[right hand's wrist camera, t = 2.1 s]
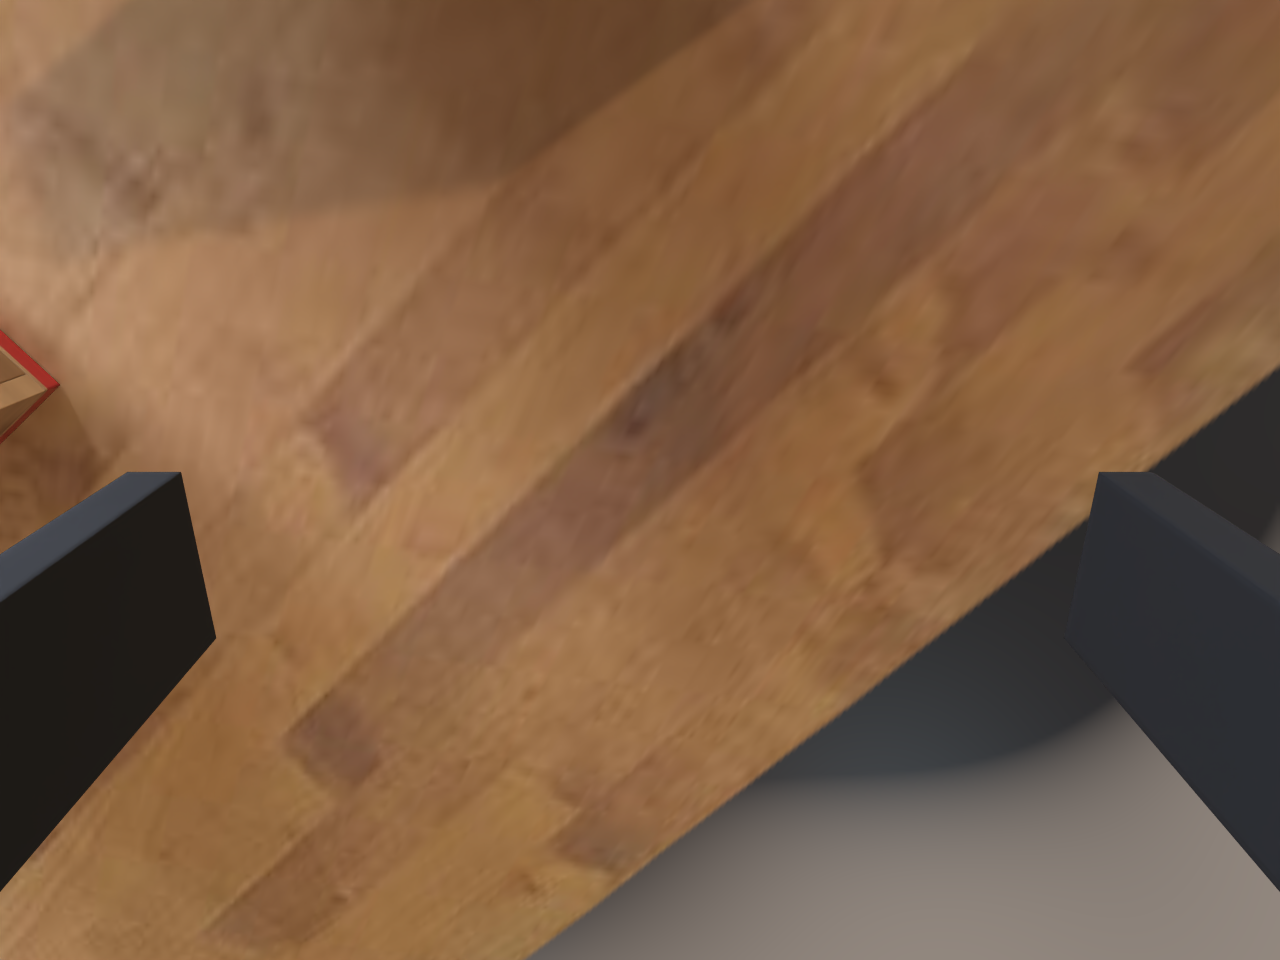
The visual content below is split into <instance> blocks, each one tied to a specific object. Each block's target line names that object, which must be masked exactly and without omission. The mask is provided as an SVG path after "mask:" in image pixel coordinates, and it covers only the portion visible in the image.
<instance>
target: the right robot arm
mask: <svg viewBox="0 0 1280 960" xmlns="http://www.w3.org/2000/svg"><path fill="white" fill-rule="evenodd" d="M215 639H216V635H215V630H214V625H213V621H212V616H211V611H210V607H209V602H208V597H207V592H206V588H205V583H204V578H203V574H202V569H201V564H200V559H199V555H198V550H197V545H196V541H195V536H194V531H193V526H192V522H191V517H190V512H189V508H188V503H187V498H186V493H185V489H184V484H183V479H182V475H181V472H127V473H125V474H124V475H122V476H121V477H119V478H117V479H116V480H114V481H113V482H111V483H110V484H108V485H107V486H105V487H104V488H102V489H100V490H99V491H97V492H96V493H94V494H93V495H91V496H90V497H88V498H87V499H85V500H83V501H82V502H80V503H79V504H77V505H76V506H74V507H73V508H71V509H70V510H68V511H66V512H65V513H63V514H62V515H60V516H59V517H57V518H56V519H54V520H52V521H51V522H49V523H48V524H46V525H45V526H43V527H42V528H40V529H39V530H37V531H35V532H34V533H32V534H31V535H29V536H28V537H26V538H25V539H23V540H22V541H20V542H18V543H17V544H15V545H14V546H12V547H11V548H9V549H8V550H6V551H4V552H3V553H1V554H0V891H1V890H2V889H3V888H4V887H5V885H6V884H7V883H8V882H9V881H10V880H11V878H12V877H13V876H14V875H15V874H16V873H17V871H18V870H19V869H20V868H21V867H22V866H23V864H24V863H25V862H26V861H27V860H28V858H29V857H30V856H31V855H32V854H33V853H34V851H35V850H36V849H37V848H38V847H39V846H40V844H41V843H42V842H43V841H44V840H45V839H46V837H47V836H48V835H49V834H50V833H51V831H52V830H53V829H54V828H55V827H56V826H57V824H58V823H59V822H60V821H61V820H62V819H63V817H64V816H65V815H66V814H67V813H68V812H69V810H70V809H71V808H72V807H73V806H74V804H75V803H76V802H77V801H78V800H79V799H80V797H81V796H82V795H83V794H84V793H85V792H86V790H87V789H88V788H89V787H90V786H91V785H92V783H93V782H94V781H95V780H96V779H97V778H98V776H99V775H100V774H101V773H102V772H103V770H104V769H105V768H106V767H107V766H108V765H109V763H110V762H111V761H112V760H113V759H114V758H115V756H116V755H117V754H118V753H119V752H120V751H121V749H122V748H123V747H124V746H125V745H126V743H127V742H128V741H129V740H130V739H131V738H132V736H133V735H134V734H135V733H136V732H137V731H138V729H139V728H140V727H141V726H142V725H143V724H144V722H145V721H146V720H147V719H148V718H149V716H150V715H151V714H152V713H153V712H154V711H155V709H156V708H157V707H158V706H159V705H160V704H161V702H162V701H163V700H164V699H165V698H166V697H167V695H168V694H169V693H170V692H171V691H172V689H173V688H174V687H175V686H176V685H177V684H178V682H179V681H180V680H181V679H182V678H183V677H184V675H185V674H186V673H187V672H188V671H189V670H190V668H191V667H192V666H193V665H194V664H195V663H196V661H197V660H198V659H199V658H200V657H201V655H202V654H203V653H204V652H205V651H206V650H207V648H208V647H209V646H210V645H211V644H212V643H213V641H214V640H215ZM1064 639H1065V640H1066V641H1067V643H1068V644H1069V645H1070V646H1071V647H1072V648H1073V650H1074V651H1075V652H1076V653H1077V654H1078V655H1079V657H1080V658H1081V659H1082V660H1083V661H1084V662H1085V664H1086V665H1087V666H1088V667H1089V668H1090V670H1091V671H1092V672H1093V673H1094V674H1095V675H1096V677H1097V678H1098V679H1099V680H1100V681H1101V682H1102V684H1103V685H1104V686H1105V687H1106V688H1107V689H1108V691H1109V692H1110V693H1111V694H1112V695H1113V697H1114V698H1115V699H1116V700H1117V701H1118V702H1119V704H1120V705H1121V706H1122V707H1123V708H1124V709H1125V711H1126V712H1127V713H1128V714H1129V715H1130V716H1131V718H1132V719H1133V720H1134V721H1135V722H1136V724H1137V725H1138V726H1139V727H1140V728H1141V729H1142V731H1143V732H1144V733H1145V734H1146V735H1147V736H1148V738H1149V739H1150V740H1151V741H1152V742H1153V743H1154V745H1155V746H1156V747H1157V748H1158V749H1159V750H1160V752H1161V753H1162V754H1163V755H1164V756H1165V758H1166V759H1167V760H1168V761H1169V762H1170V763H1171V765H1172V766H1173V767H1174V768H1175V769H1176V770H1177V772H1178V773H1179V774H1180V775H1181V776H1182V777H1183V779H1184V780H1185V781H1186V782H1187V783H1188V785H1189V786H1190V787H1191V788H1192V789H1193V790H1194V792H1195V793H1196V794H1197V795H1198V796H1199V797H1200V799H1201V800H1202V801H1203V802H1204V803H1205V804H1206V806H1207V807H1208V808H1209V809H1210V810H1211V812H1212V813H1213V814H1214V815H1215V816H1216V817H1217V819H1218V820H1219V821H1220V822H1221V823H1222V824H1223V826H1224V827H1225V828H1226V829H1227V830H1228V831H1229V833H1230V834H1231V835H1232V836H1233V837H1234V839H1235V840H1236V841H1237V842H1238V843H1239V844H1240V846H1241V847H1242V848H1243V849H1244V850H1245V851H1246V853H1247V854H1248V855H1249V856H1250V857H1251V858H1252V860H1253V861H1254V862H1255V863H1256V864H1257V866H1258V867H1259V868H1260V869H1261V870H1262V871H1263V873H1264V874H1265V875H1266V876H1267V877H1268V878H1269V879H1270V881H1271V882H1272V883H1273V884H1274V885H1275V887H1276V888H1277V889H1278V890H1279V891H1280V554H1279V553H1277V552H1275V551H1274V550H1272V549H1271V548H1269V547H1268V546H1266V545H1265V544H1263V543H1262V542H1260V541H1258V540H1257V539H1255V538H1254V537H1252V536H1251V535H1249V534H1248V533H1246V532H1245V531H1243V530H1241V529H1240V528H1238V527H1237V526H1235V525H1234V524H1232V523H1231V522H1229V521H1227V520H1226V519H1224V518H1223V517H1221V516H1220V515H1218V514H1217V513H1215V512H1214V511H1212V510H1210V509H1209V508H1207V507H1206V506H1204V505H1203V504H1201V503H1200V502H1198V501H1197V500H1195V499H1193V498H1192V497H1190V496H1189V495H1187V494H1186V493H1184V492H1183V491H1181V490H1180V489H1178V488H1176V487H1175V486H1173V485H1172V484H1170V483H1169V482H1167V481H1166V480H1164V479H1162V478H1161V477H1159V476H1158V475H1156V474H1155V473H1153V472H1099V475H1098V479H1097V484H1096V489H1095V493H1094V498H1093V503H1092V508H1091V512H1090V517H1089V522H1088V527H1087V532H1086V536H1085V541H1084V545H1083V550H1082V555H1081V559H1080V564H1079V569H1078V574H1077V578H1076V583H1075V588H1074V593H1073V597H1072V602H1071V607H1070V612H1069V616H1068V621H1067V626H1066V630H1065V635H1064Z"/></svg>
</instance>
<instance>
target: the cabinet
mask: <svg viewBox="0 0 1280 960" xmlns="http://www.w3.org/2000/svg"><path fill="white" fill-rule="evenodd" d="M59 386H60V384H59V383H57V382H56V381H55V380H54V379H53V378H52V377H51V376H50V375H49V374H48V373H47V372H46V371H44V370H43V369H42V368H41V367H40V366H39V365H38V364H37V363H36V362H35V361H34V360H32V359H31V358H30V357H29V356H28V355H27V354H26V353H25V352H24V351H23V350H22V349H20V348H19V347H18V346H17V345H16V344H15V343H14V342H13V341H12V340H11V339H10V338H8V337H7V336H6V335H5V334H4V333H3V332H2V331H1V330H0V444H1V443H2V442H3V441H4V440H5V439H6V438H7V437H8V436H9V435H10V434H11V433H12V432H13V431H14V430H15V429H16V428H17V427H18V426H19V425H20V424H21V423H22V422H23V421H24V420H25V419H26V418H27V417H28V416H29V415H30V414H31V413H32V412H33V411H34V410H35V409H36V408H37V407H38V406H39V405H40V404H41V403H42V402H43V401H44V400H45V399H46V398H47V397H48V396H49V395H51V394H52V393H53V392H54V391H55V390H56V389H57V388H58V387H59Z"/></svg>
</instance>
